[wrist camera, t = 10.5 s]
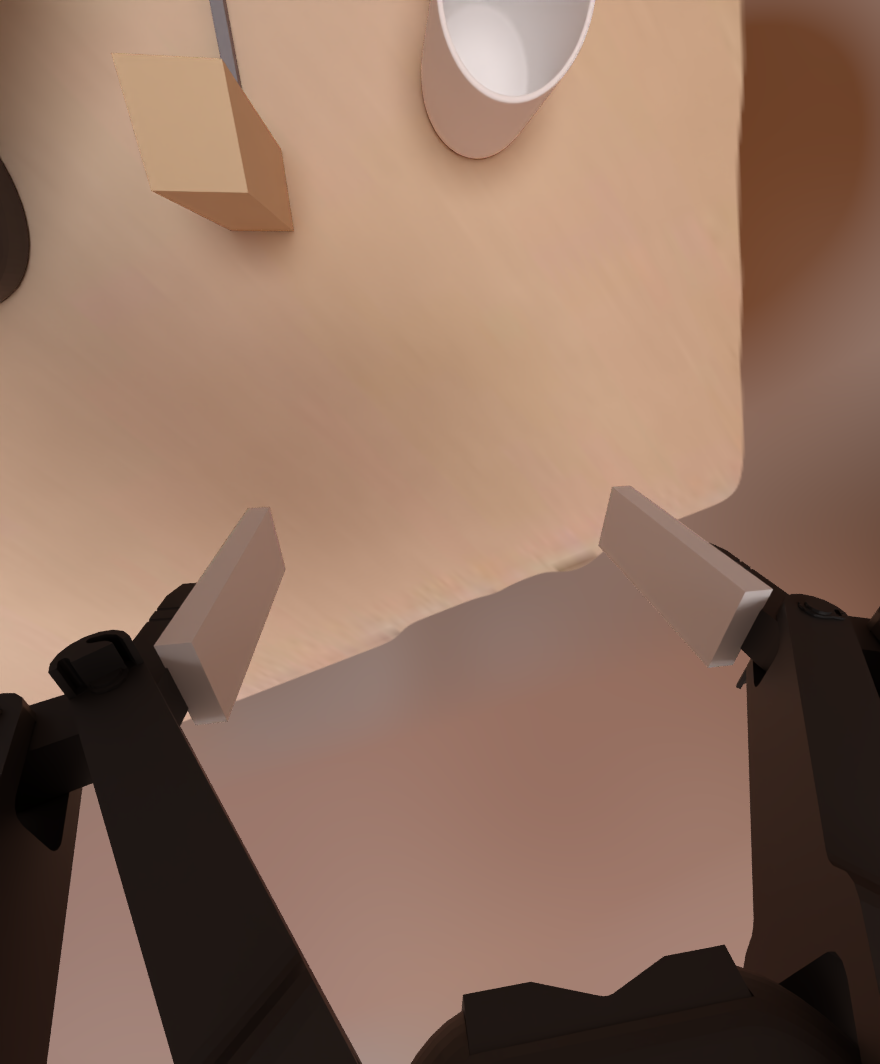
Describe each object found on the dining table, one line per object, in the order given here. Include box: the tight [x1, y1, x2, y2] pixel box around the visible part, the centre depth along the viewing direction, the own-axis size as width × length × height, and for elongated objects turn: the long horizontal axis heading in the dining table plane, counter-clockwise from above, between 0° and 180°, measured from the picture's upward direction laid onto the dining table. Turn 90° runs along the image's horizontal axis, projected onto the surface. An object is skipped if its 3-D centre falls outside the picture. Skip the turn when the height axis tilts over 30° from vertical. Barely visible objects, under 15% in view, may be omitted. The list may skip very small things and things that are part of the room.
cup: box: [421, 0, 595, 159], centre depth 23 cm, size 8×12×10 cm
